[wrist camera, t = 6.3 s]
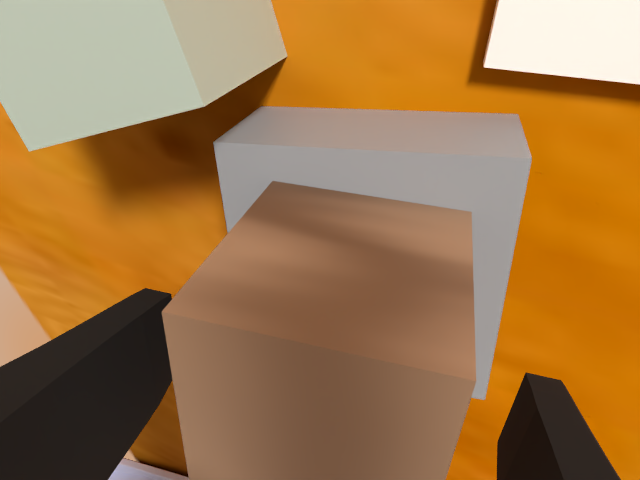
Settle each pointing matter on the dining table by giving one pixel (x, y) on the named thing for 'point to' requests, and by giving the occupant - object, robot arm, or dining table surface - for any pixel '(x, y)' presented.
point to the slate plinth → (396, 178)
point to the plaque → (567, 38)
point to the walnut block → (326, 341)
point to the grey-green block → (125, 60)
